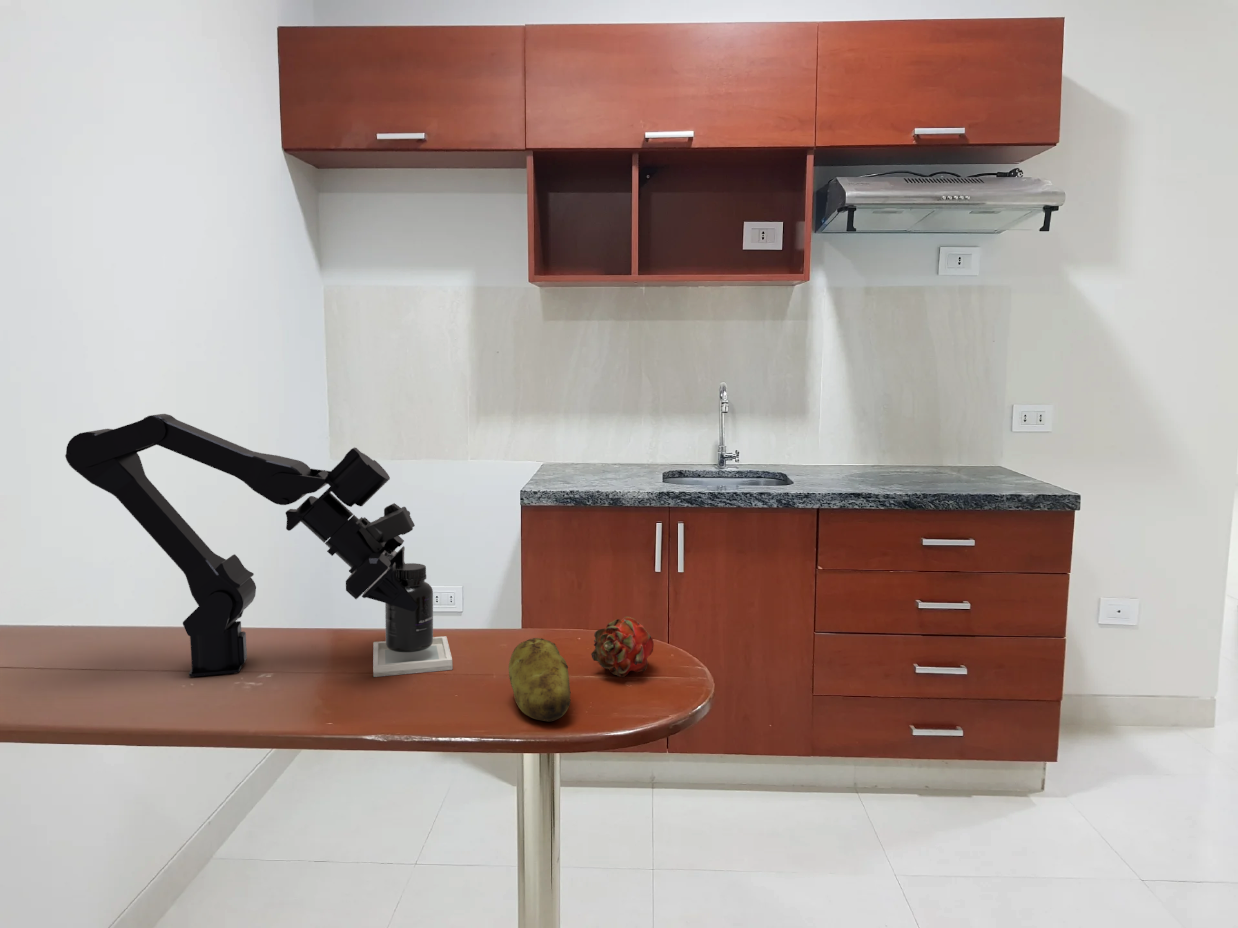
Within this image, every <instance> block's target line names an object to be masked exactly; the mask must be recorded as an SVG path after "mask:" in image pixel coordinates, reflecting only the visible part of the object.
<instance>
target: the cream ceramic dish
mask: <svg viewBox="0 0 1238 928" xmlns="http://www.w3.org/2000/svg"><path fill="white" fill-rule="evenodd" d="M447 637H448V636H433V643H432V645H431V646H430V647H429V648H427V649H425V650H422V651H417V652H395V651H392V650H390V649H388V648H387V646H386V640H384V641H383V640H382V641H381V640H380V641H373V645H372V646H373V648H372V649H373V651H372V652H373V656H372V657H373V658H372V659H373V661H372V663H373V664H372V666H373V667H372V670H373V672H372V673H373V678H378V677H387V676H389V677H391V676H398V675H411V674H412V675H413V674H420V673H431V672H439V671H440V672H441V671H443V672H444V671H453V657H452V653H451V650H450V645H449V642H448V638H447Z"/></svg>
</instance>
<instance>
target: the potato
mask: <svg viewBox="0 0 1238 928" xmlns="http://www.w3.org/2000/svg"><path fill="white" fill-rule="evenodd" d="M568 668H569V666H568V664H567V661H566V659H565V658H564V657H563V656H562V655H561V654H560V651H559V648H558V647H557V645H556V643H555V642H552V641H550V640H547V639H545V638H543V637H542V638H540V637H533V638H529V639H526V640H524V641H522V642H520V643H518V644H517V646H516V647H514V649H513V651H512V653H511V656H510V659H509V662H508V675H509V677H508V678H509V683H510V685H511V688H512V691H513V697H514V702H515V703H516V705H517V706H518V708H519V709H520V711H521V713H523V714H524V715H525V716H527V717H529V718H531V719H534V720H537V721H543V722H548V723H552V722H554V721H556V720H559V719H560V718H562V717H563V716H564V715H565V714H566V713H567V711H568V710H569V707H570V705H571V687H570V684H571V683H570V675H569V669H568Z"/></svg>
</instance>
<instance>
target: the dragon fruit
mask: <svg viewBox="0 0 1238 928" xmlns="http://www.w3.org/2000/svg"><path fill="white" fill-rule="evenodd" d="M593 636H594V640H593V642H594V644H593V646H594V647H595V648H594V649H593V651H592V652H591V653H590V655H591V659H592V660H593V661H595V662H598V663H599V666H601V668H604V669H607V670H609V672H610V673H611V674H613V675H615V676H617V677H620V678H624V677H626V676H627V675H628V674H629V673H630V672H631V671H632V672H634V673H639V672H642V673H644V672H645V671H646V670H647V668H648V657H650V656H651V655H652V653H653V652H654V646H655V645H654V643H655V642H654V639H653V637H652V636H651V634H650V633H649V631H647V629H646V628H645V627H644V625H643V624H641V623H640V622H639V621H638V620H637V619H636V618H634V617H633V616H632V617H631V616H624V617H623V618H622V619H619V618H616V619H614V620H612V621H610V622H609V623H607V624H606V627H605V628H601V629H598V630H595V632H594V635H593Z"/></svg>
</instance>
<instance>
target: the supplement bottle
mask: <svg viewBox="0 0 1238 928" xmlns="http://www.w3.org/2000/svg"><path fill="white" fill-rule="evenodd" d="M396 578H397V579H398V580H399V581H400V583H401V584H402V585H403V586H404V588H405V589H406V590H407V591H408V593H409V594H410V595H411V596H412V598H413V599H414V600H415V602H416V603H417V604H418V608H417V609H416V610H415V611H413V612H412V611H409V610H406V609H403V608H400V607H397V606H394V605H391V604H387V603H384V605H385V608H384V609H385V610H384V613H385V614H384V615H385V616H384V617H385V641H386V646H387V648H388V649H390V650H392V651H395V652H417V651H422V650H425V649H427V648H429V647H430V646H431V645H432V643H433V637H434V590H433V589H434V588H433V587H432V586H431V585H430V583H428V582H426V581H425V580H427V567H426V565H425V564H423V563H414V562H411V563H410V562H408V563H406V562H405V564H399V565H396Z"/></svg>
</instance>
